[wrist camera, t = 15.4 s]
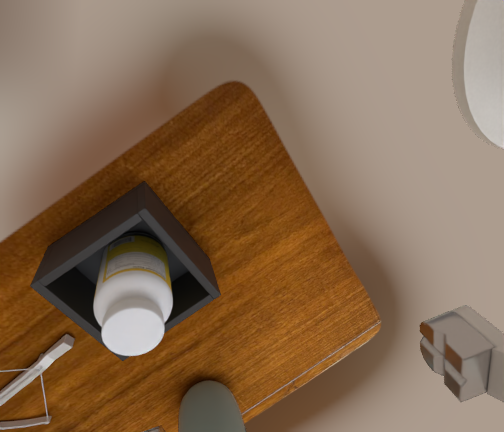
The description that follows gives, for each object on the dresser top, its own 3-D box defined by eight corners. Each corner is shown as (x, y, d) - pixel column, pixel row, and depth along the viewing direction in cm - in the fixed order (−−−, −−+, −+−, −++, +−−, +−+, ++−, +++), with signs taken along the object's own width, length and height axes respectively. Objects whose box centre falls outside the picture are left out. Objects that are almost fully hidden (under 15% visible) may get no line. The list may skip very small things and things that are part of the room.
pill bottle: (132, 294, 41) (129, 378, 31) (87, 255, 38) (67, 335, 28) (180, 258, 41) (192, 332, 30) (138, 217, 38) (137, 283, 27)
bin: (144, 180, 37) (145, 207, 31) (210, 259, 43) (221, 295, 37) (47, 246, 37) (29, 286, 31) (125, 316, 43) (122, 361, 37)
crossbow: (21, 434, 47) (15, 451, 45) (-83, 391, 41) (-94, 408, 39) (115, 361, 45) (113, 376, 43) (19, 304, 39) (12, 318, 37)
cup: (211, 419, 53) (225, 493, 45) (164, 405, 50) (168, 483, 41) (244, 380, 52) (265, 449, 43) (197, 363, 48) (209, 435, 40)
